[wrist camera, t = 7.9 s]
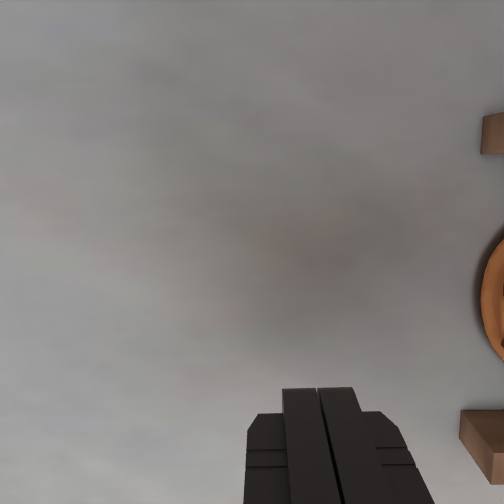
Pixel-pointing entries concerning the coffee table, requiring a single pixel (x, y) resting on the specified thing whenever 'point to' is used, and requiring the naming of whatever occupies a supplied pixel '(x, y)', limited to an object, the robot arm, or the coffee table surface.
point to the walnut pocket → (487, 421)
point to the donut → (494, 300)
